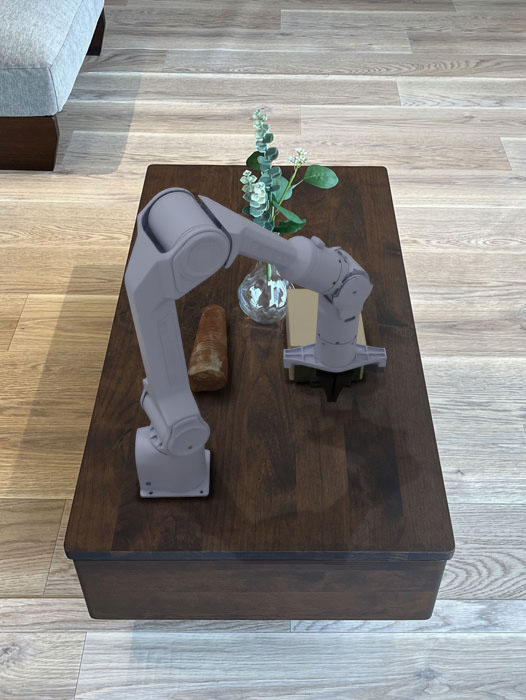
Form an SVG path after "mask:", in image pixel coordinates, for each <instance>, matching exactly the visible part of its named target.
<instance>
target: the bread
mask: <svg viewBox="0 0 526 700" xmlns="http://www.w3.org/2000/svg"><path fill="white" fill-rule="evenodd" d="M200 315H201V316H200V320H199V323H198V327H197V330H196V335H195V339H194V341H193V347H192V350H191V354H190V360H189V364H188V368H187V373H188V379H189V385H190V390H191V392H195V393H198V392H216V391H220V390H222V389H224V388H225V387H226V386H227V384H228V377H229V367H228V366H229V364H228V363H229V362H228V360H229V359H228V337H227V334H228V333H227V322H226V321H227V320H226V318H227V317H226V315H227V314H226V310H225V308H224V307H222V306H221V305H219V304H210V305H208V306H206V307H204V308H203V309H202V312H201V314H200Z"/></svg>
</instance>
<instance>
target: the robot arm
mask: <svg viewBox="0 0 526 700" xmlns="http://www.w3.org/2000/svg"><path fill="white" fill-rule="evenodd" d="M197 197H198V198H199V201H200V204H199V203H198V201H197V198H196V197H195V196H194V194H193V193H192V192H191V191H190V190H188V189H186V188H183V187H169V188H166V189H164V190H161V191H159V192H158V193H157V194H155V195H154V196H153V197H152V199H150V200H149V202H148V203H147V204H146V205H145V206H144V207H143V209H142V210H141V211H140V212H139V213H138V214H137V216H136V218H137V219H136V221H137V224H136V225H137V235H136V238H135V242H134V245H133V249H132V252H131V255H130V257H129V261H128V264H127V266H126V270H125V274H124V286H125V290H126V294H127V298H128V302H129V303H128V304H129V307H130V312H131V316H132V321H133V325H134V329H135V333H136V338H137V343H138V347H139V350H140V351H139V352H140V355H141V360H142V364H143V368H144V372H145V376H146V377H145V378H143V379H142V385H143V390H142V393H141V396H140V400H139V401H140V402H139V403H140V407H141V409H142V410H143V411H144V412H145V413H146V416H147V417H148V420H149V421H150V425H147V426H143V427H137V429H136V434H135V442H134V443H135V444H134V445H135V446H134V454H135V455H134V456H135V457H134V458H135V459H134V460H135V466H136V467H135V468H136V473H137V477H138V478H137V479H138V483H139V488H140V490H139V491H140V494H139V495H140V497H141V498H186V497H187V498H188V497H189V498H190V497H191V498H192V497H196V498H197V497H207V496H209V494H210V471H211V470H210V469H211V451H210V450H209V449H206V443H207V442H208V440H209V439H210V435H211V428H210V426H209V424H208V423H207V422H206V421H205V420H204V418H203V417H202V415H201V412H200V409H199V407H198V403H197V401H196V399H195V397H194V394H193V391H192V390H190V385H189V379H188V368H187V363H186V357H185V352H184V345H183V340H182V334H181V328H180V323H179V318H178V311H177V305H176V300H179V299H180V298H182V297H184V296H185V295H186V294H188V293H189V292H190V291H192V290H193V289H194V288H196V287H198V286H199V285H200V284H202V283H203V282H205V281H206V280H207V279H209V278H210V277H211V276H213V275H214V274H216V273H217V272H218V271H219V270H220V269H221V268H222V267H223V268H224V269H229V268H230V267H231V265H232V264H233V263H234V261H235V260H236V258H237V257H238V255H241V256H243V257H246V258H250V259H253V260H256V261H259V262H261V263H264V264H267V265H270V266H273V267H276V270H277V272H278V274H279V276H280V277H281V279H282V280H285V281H287V282H289V283H291V284H294V285H297V286H299V287H301V288H303V289H309V290H311V291H314V292H316V293H319V294H318V310H317V327H316V341H315V343H312V344H308V345H305V346H301V347H297V348H293V349H288V348H284V349H283V353H282V354H283V355H282V357H283V358H282V360H283V361H282V362H283V369H289V368H291V365H305V366H309V367H313V368H316V376H317V379H318V381H319V382H320V383H321V385H322V386H323V388H322V389H323V390H324V392H325V397H326V402H327V403H337V401H338V398H339V396H340V394H341V392H342V391H343V389H345V388H344V387H345V386H346V384H348V383H349V382H350V381H351V382H353V381H352V379H353V376H354V371H353V368H357V367H360V366H364V367H365V366H367V365H377V367H378V368H386V364H387V360H388V356H387V351H386V348H385V347H376V346H371V345H367V344H366V345H362V344H358V343H357V334H358V325H359V316H360V312H361V313H362V311H363V309H364V303H365V302H366V300H367V299H368V297H369V296H370V295H371V293H372V290H373V287H374V284H373V283H372V282H371V279H370V276H369V274H368V272H367V271H366V270H365V269H364V268H363V267H362V266H361V265H360V264H359V263H358V262H357V261H356V260H355V259H354V258H353V257H352V256H351V255H350V254H349V253H348V252H347V251H345V250H344V249H343V248H342V247H341V246H331V247H327V246H326V244H325V242H324V241H323V240H321V238H320V237H317V236H316V235H312V236H311V238H307V237H305V236H303V235H296V236H295V235H294V236H292V237H291V238H289V239H287V238H284V237H282V236H280V235H279V234H277V233H275V232H273V231H271V230H270V229H267V228H265V227H264V226H262V225H259V224H258V223H256V222H254V221H252V220H250V219H249V218H247V217H245V216H243V215H241V214H239V213H238V212H235V211H233V210H232V209H229V208H227V207H226V206H224V205H222V204H220V203H218V202H216V201H215V200H213V199H211V198H209V197H207V196H204V195H201V194H198V195H197Z"/></svg>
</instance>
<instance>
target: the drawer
mask: <svg viewBox="0 0 526 700" xmlns="http://www.w3.org/2000/svg"><path fill="white" fill-rule="evenodd" d="M353 371H354V376H353V379H352V381H350V382H349V383H348V384H346V386H345V387H344V388H343V389H346V388H351V387H352V382H353V381H354V382H358V381H361V379H360V373H361V366H360V367H357V368H353ZM293 377H294V380H293V383H294V382H295V383H297V382H298V383H299V382H309V387H310V389H324V388H323V386H322V385H321V383H320V382H319V381H318V379H317V376H316V368H313V367H309V366H305V365H294V375H293Z"/></svg>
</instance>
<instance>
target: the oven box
mask: <svg viewBox="0 0 526 700" xmlns="http://www.w3.org/2000/svg"><path fill="white" fill-rule="evenodd" d="M318 294H319V293H316V292H314V291H311V290H309V289H306V288H287V289H286V311H285V312H286V314H285V328H286V329H285V330H286V344H287V349H293V348H297V347H301V346H305V345H308V344H312V343H315V341H316V327H317V310H318ZM357 343H358V344H362V345H366V346H367V340H366V334H365V329H364V322H363V316H362V311H361V312H360V316H359V325H358V334H357ZM364 367H365V365H364V366H361V373H360V380H363V374H364ZM293 375H294V365H291V368H288V379H289V381H294V377H293Z"/></svg>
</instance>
